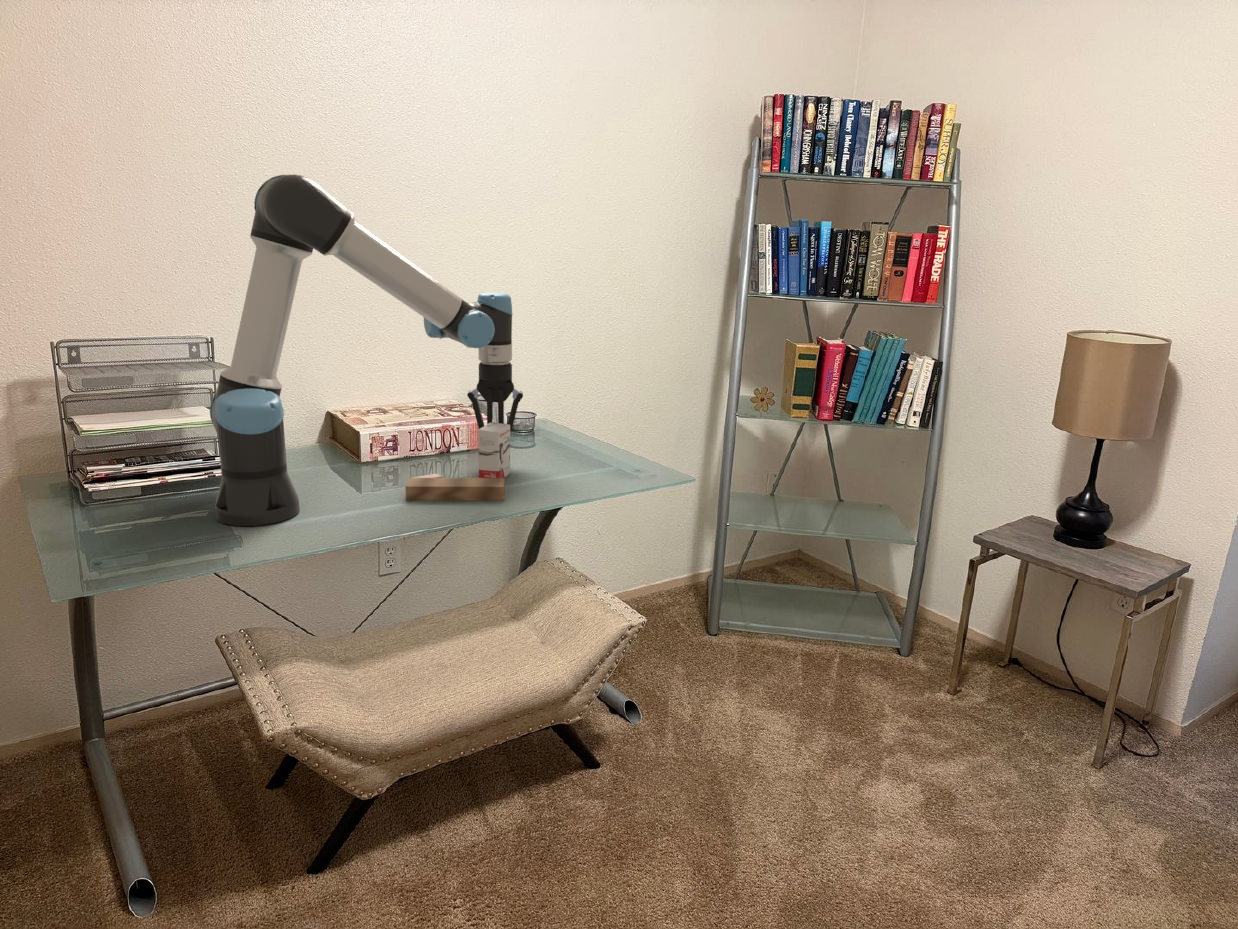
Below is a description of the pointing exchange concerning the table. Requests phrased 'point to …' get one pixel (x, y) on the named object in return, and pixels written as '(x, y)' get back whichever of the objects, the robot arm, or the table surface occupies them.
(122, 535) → the table surface
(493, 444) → the ink box
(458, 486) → the wooden block
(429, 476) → the eraser
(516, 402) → the robot arm
